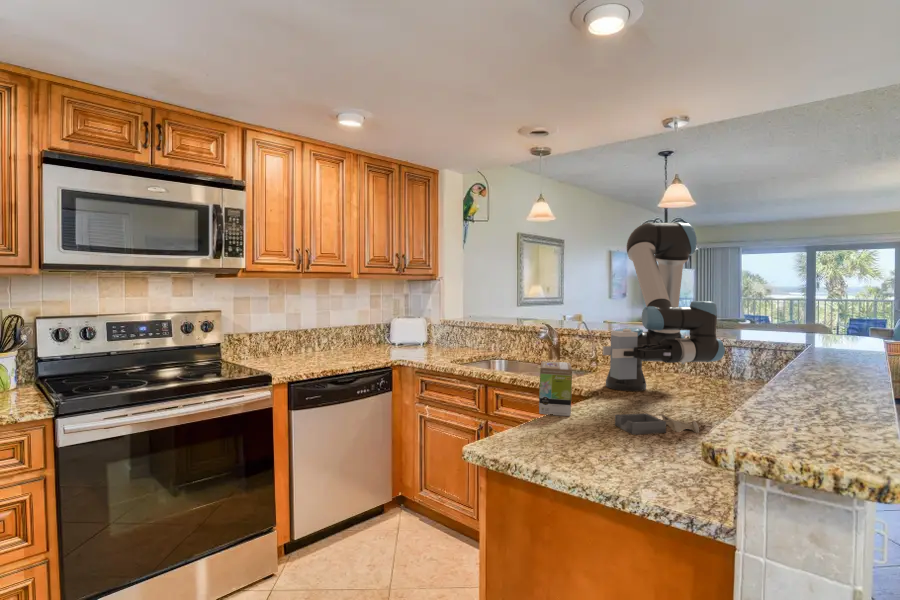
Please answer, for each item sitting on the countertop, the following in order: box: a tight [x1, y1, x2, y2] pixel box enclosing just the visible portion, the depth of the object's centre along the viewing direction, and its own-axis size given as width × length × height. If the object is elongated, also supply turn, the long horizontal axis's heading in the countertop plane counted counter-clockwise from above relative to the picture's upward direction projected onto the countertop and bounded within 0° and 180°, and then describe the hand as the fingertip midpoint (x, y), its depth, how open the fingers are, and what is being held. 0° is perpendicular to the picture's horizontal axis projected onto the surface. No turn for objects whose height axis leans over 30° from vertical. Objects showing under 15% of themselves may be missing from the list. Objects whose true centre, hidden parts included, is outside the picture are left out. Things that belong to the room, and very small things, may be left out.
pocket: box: [614, 413, 667, 435], centre depth 136 cm, size 9×10×3 cm
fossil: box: [658, 413, 700, 434], centre depth 138 cm, size 7×11×4 cm, turn 7°
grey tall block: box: [609, 328, 638, 379], centre depth 150 cm, size 5×6×15 cm
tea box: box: [538, 361, 573, 417], centre depth 157 cm, size 15×10×15 cm
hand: (608, 352), depth 149 cm, fingers closed on grey tall block, 5 cm apart
